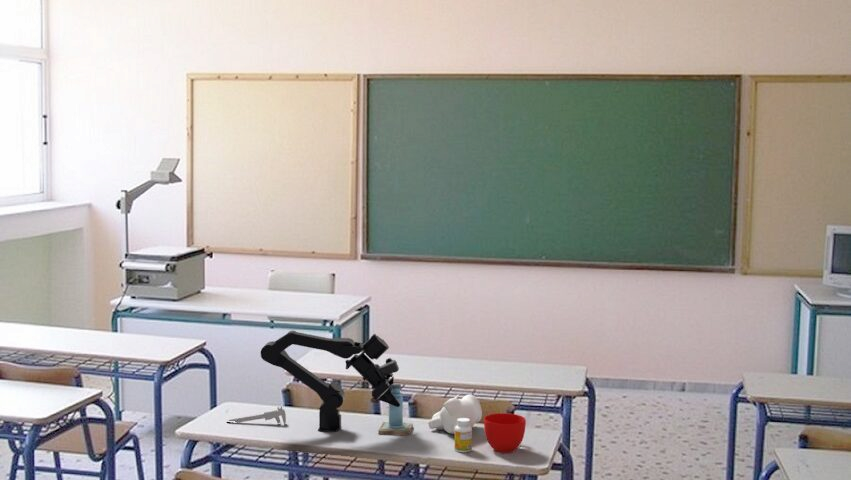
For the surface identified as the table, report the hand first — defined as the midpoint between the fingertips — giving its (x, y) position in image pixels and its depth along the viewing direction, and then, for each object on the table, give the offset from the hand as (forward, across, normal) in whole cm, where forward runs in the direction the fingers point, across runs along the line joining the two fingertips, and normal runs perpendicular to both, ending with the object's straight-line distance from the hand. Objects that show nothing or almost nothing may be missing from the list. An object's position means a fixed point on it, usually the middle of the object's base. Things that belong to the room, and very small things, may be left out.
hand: (400, 402), depth 333 cm
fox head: (+19, 0, -6) cm, 20 cm away
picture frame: (+6, 0, +8) cm, 10 cm away
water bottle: (+5, 0, +7) cm, 8 cm away
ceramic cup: (+31, -17, -17) cm, 39 cm away
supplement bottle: (+22, -20, -8) cm, 31 cm away
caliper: (-28, +5, +42) cm, 50 cm away
